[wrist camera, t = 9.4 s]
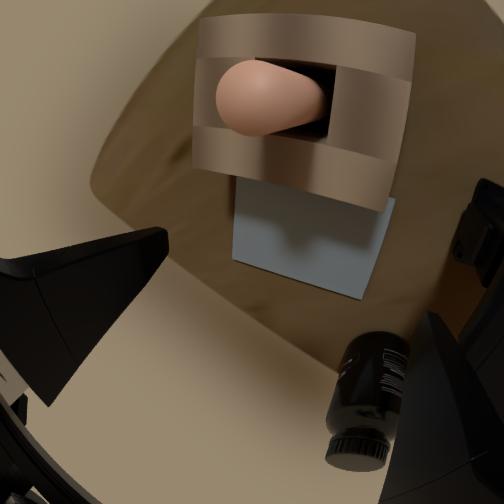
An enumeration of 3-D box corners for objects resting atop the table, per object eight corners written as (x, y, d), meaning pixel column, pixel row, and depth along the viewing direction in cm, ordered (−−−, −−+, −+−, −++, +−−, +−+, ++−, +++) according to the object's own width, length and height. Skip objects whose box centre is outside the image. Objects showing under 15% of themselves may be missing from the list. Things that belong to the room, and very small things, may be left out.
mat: (394, 198, 18) (395, 200, 18) (361, 297, 23) (361, 299, 22) (239, 160, 22) (237, 161, 21) (234, 256, 26) (232, 258, 26)
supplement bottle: (335, 336, 26) (297, 445, 17) (402, 320, 22) (390, 444, 13) (357, 377, 28) (329, 475, 18) (416, 367, 24) (404, 474, 14)
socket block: (407, 51, 12) (416, 33, 9) (383, 188, 18) (384, 213, 14) (237, 31, 16) (199, 18, 12) (228, 152, 22) (192, 167, 18)
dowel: (336, 83, 16) (295, 62, 8) (330, 125, 17) (286, 142, 10) (293, 77, 17) (218, 59, 9) (288, 117, 18) (213, 132, 10)
